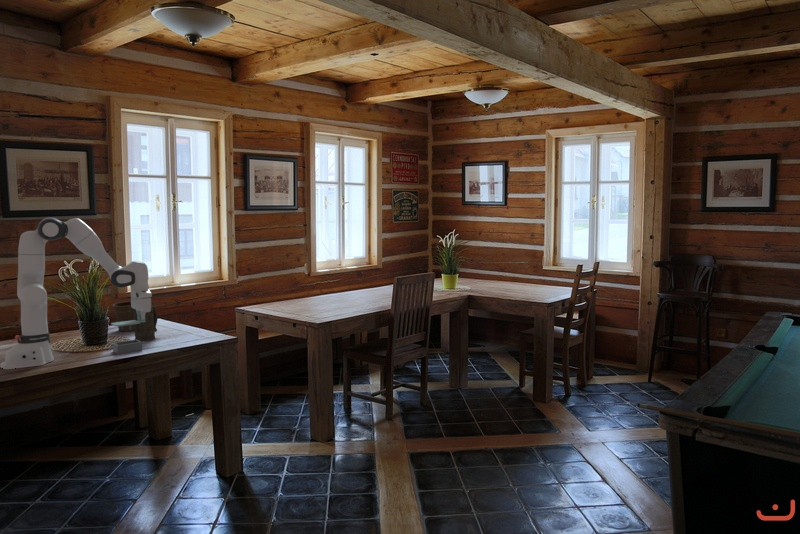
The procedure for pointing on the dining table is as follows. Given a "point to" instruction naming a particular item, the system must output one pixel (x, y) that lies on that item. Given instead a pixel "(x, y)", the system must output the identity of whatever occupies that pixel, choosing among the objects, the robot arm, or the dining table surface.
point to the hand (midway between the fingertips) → (141, 318)
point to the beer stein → (146, 326)
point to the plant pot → (124, 315)
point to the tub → (127, 346)
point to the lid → (129, 322)
